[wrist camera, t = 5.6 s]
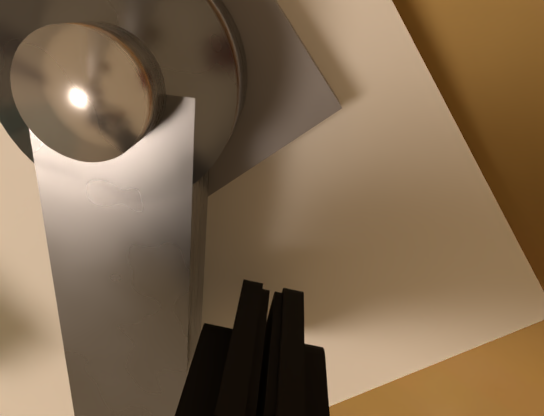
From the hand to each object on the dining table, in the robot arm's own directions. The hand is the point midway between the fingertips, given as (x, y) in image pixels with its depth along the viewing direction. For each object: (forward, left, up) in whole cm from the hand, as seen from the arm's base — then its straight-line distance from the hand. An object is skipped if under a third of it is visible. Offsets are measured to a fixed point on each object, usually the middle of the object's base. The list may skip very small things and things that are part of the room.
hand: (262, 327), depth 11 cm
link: (+3, -2, 0) cm, 3 cm away
